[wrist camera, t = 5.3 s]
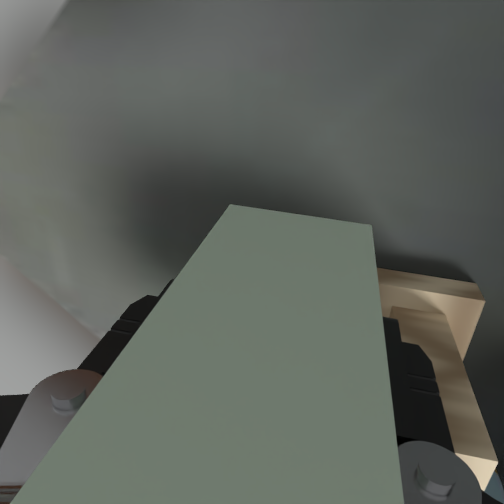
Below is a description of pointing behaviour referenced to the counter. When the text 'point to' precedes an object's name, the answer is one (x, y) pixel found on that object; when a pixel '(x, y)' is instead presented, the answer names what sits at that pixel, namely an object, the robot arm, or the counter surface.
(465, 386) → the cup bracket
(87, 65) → the counter surface
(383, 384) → the rail post
